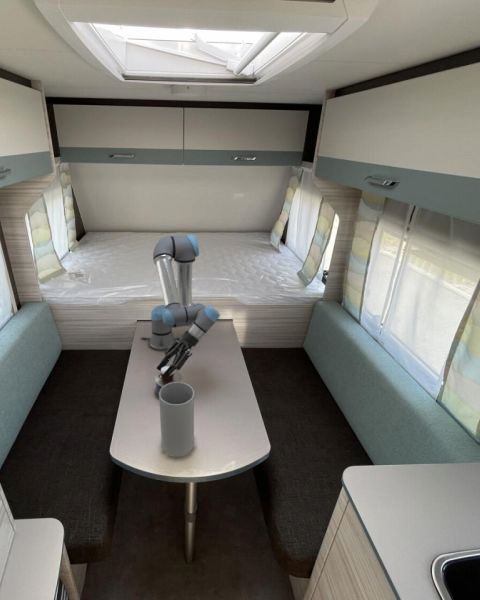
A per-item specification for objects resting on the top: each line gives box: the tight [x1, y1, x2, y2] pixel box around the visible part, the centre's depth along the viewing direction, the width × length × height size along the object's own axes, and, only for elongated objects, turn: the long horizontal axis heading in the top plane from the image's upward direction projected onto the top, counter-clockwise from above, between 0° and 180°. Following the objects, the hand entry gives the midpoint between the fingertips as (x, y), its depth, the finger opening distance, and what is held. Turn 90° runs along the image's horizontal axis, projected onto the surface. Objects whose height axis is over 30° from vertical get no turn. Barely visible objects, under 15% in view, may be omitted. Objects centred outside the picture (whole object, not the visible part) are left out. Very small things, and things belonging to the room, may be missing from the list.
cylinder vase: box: [158, 381, 195, 458], centre depth 122 cm, size 12×12×25 cm
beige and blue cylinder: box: [154, 370, 183, 398], centre depth 153 cm, size 12×12×8 cm
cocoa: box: [158, 352, 179, 381], centre depth 149 cm, size 10×6×12 cm, turn 97°
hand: (161, 373), depth 149 cm, fingers closed on cocoa, 6 cm apart
